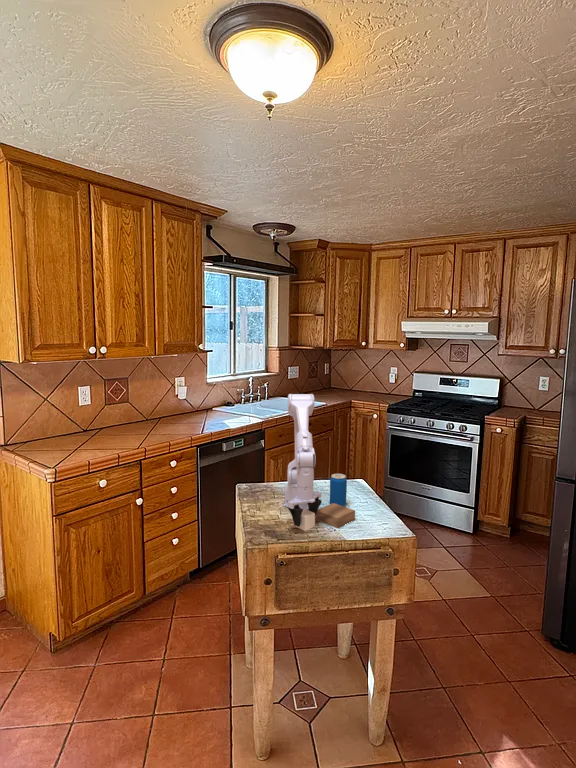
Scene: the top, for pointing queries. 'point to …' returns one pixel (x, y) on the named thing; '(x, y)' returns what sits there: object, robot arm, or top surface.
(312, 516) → the cube
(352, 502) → the top surface
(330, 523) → the walnut box
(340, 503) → the beverage can
